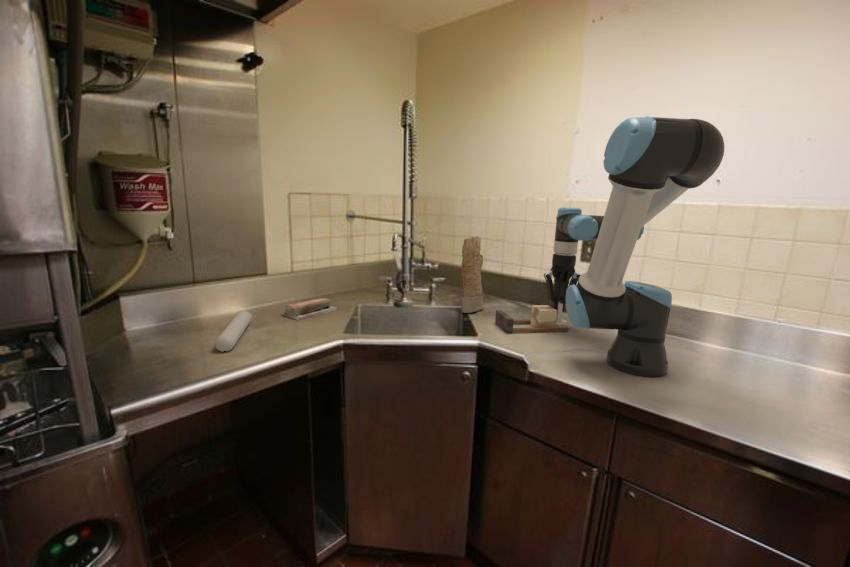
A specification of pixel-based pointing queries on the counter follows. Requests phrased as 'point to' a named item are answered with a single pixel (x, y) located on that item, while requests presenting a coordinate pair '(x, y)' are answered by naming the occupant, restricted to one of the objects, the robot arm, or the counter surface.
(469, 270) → the glove
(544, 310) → the block
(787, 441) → the counter surface
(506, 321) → the guide channel
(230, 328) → the tube
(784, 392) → the counter surface
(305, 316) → the packaged product
